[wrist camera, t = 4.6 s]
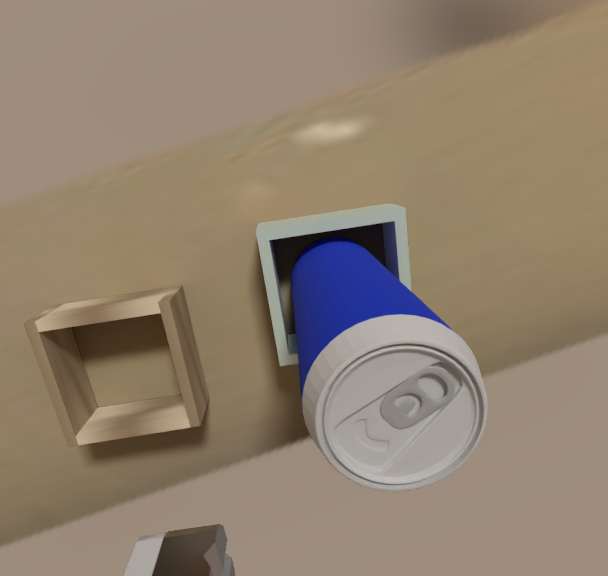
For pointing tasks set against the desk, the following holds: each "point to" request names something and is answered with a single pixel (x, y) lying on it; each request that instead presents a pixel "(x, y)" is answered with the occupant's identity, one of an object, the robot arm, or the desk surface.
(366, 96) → the desk surface
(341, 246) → the beverage can
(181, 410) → the bin oak
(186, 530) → the robot arm
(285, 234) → the bin sage
